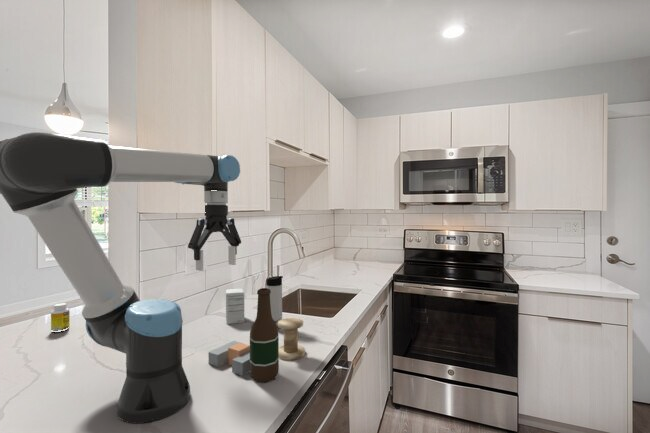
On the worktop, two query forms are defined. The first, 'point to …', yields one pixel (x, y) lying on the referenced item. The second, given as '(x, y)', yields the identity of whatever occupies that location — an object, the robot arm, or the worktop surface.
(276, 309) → the travel mug
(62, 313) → the supplement bottle
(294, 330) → the bobbin
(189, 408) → the worktop surface
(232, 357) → the block
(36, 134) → the robot arm
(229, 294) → the supplement box
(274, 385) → the worktop surface
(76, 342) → the worktop surface
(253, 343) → the beer bottle
